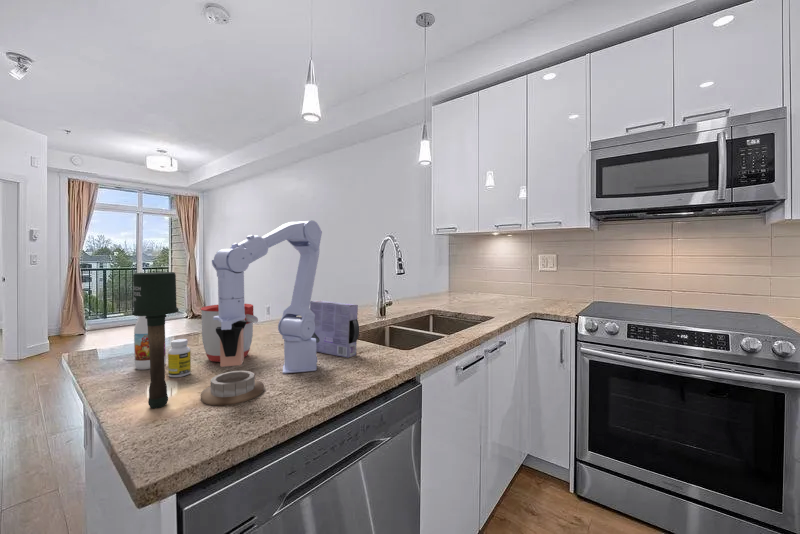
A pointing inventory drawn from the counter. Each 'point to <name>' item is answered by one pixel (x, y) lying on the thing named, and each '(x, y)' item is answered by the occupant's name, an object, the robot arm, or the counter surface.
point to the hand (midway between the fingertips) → (232, 353)
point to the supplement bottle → (179, 358)
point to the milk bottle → (142, 345)
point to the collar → (232, 388)
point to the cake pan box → (335, 327)
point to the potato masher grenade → (155, 324)
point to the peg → (238, 357)
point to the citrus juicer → (210, 325)
